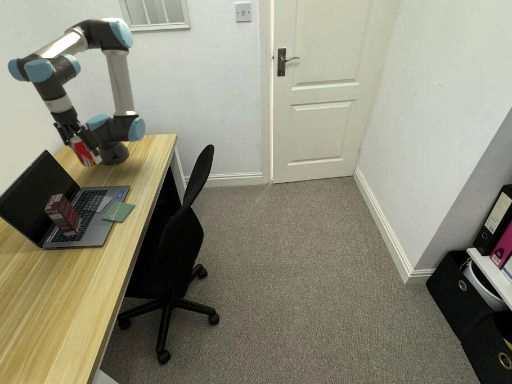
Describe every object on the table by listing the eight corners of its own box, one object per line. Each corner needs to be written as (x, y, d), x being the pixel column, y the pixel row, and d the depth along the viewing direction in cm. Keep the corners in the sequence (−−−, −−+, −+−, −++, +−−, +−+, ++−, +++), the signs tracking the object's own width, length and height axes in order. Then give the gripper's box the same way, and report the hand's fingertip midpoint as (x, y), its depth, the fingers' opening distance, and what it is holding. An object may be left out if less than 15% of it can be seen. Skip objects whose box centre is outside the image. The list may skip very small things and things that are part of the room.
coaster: (115, 202, 125) (115, 201, 125) (135, 205, 123) (135, 204, 123) (102, 219, 118) (101, 218, 117) (122, 222, 116) (122, 221, 115)
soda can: (94, 169, 111) (79, 144, 103) (79, 168, 112) (63, 142, 104) (105, 159, 116) (91, 134, 108) (90, 157, 117) (76, 132, 109)
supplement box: (71, 222, 117) (50, 195, 107) (83, 220, 118) (63, 192, 107) (65, 238, 111) (42, 210, 100) (78, 235, 112) (57, 208, 101)
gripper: (30, 110, 97) (64, 163, 113) (77, 115, 93) (106, 169, 109) (46, 101, 103) (77, 153, 118) (92, 105, 98) (117, 158, 114)
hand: (91, 160), depth 113 cm, fingers closed on soda can, 7 cm apart
